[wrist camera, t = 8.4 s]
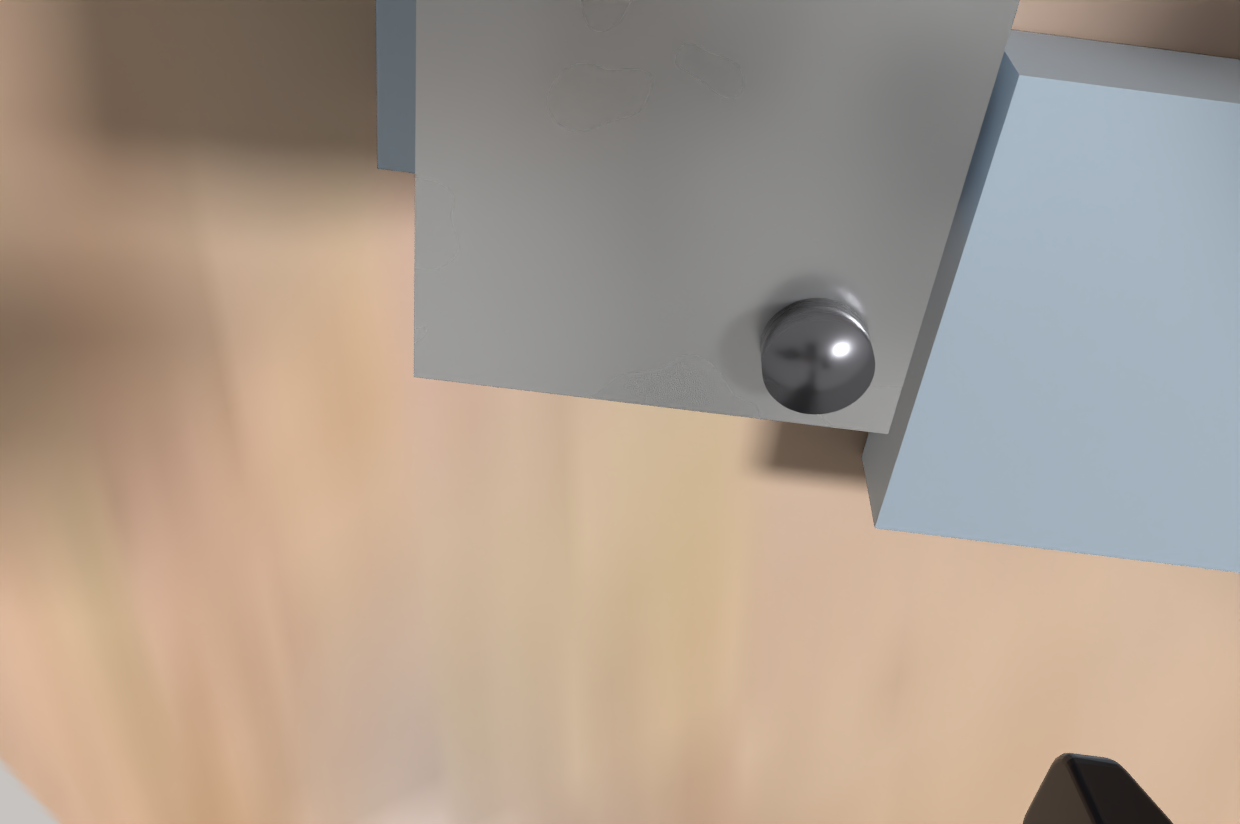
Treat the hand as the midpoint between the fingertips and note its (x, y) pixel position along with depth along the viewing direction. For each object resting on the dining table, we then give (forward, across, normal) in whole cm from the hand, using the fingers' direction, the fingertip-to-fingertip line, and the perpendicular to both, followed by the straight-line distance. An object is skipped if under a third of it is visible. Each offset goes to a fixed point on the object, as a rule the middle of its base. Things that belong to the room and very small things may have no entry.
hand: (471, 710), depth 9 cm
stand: (+12, -10, +1) cm, 15 cm away
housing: (+9, -1, -4) cm, 10 cm away
